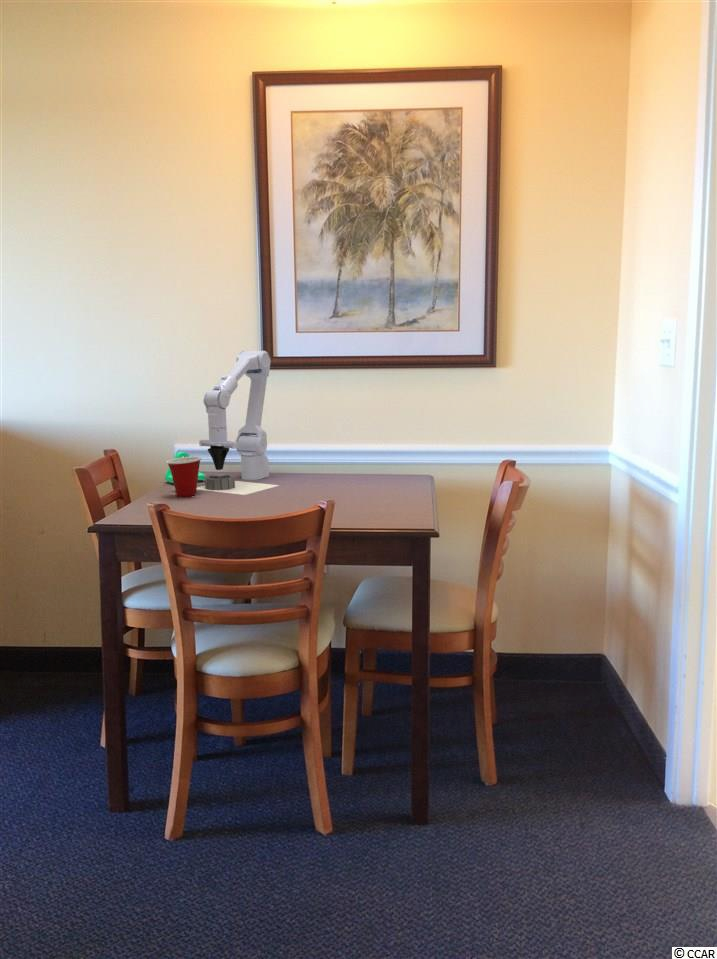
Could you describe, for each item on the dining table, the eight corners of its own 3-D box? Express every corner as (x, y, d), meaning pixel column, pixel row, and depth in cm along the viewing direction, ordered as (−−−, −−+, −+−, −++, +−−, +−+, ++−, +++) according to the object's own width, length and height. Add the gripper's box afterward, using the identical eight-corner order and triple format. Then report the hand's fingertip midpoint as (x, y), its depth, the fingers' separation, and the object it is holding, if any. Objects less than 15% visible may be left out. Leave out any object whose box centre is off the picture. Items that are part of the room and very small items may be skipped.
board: (227, 482, 297) (227, 469, 296) (279, 487, 285) (279, 474, 284) (191, 491, 282) (190, 478, 281) (244, 497, 270) (244, 483, 269)
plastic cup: (170, 493, 279) (168, 456, 276) (204, 492, 280) (202, 455, 277) (165, 500, 268) (163, 461, 266) (201, 498, 269) (199, 460, 267)
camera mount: (172, 486, 292) (171, 455, 290) (165, 483, 298) (163, 453, 297) (206, 482, 298) (205, 452, 296) (198, 479, 305) (197, 450, 303)
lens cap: (219, 485, 286) (219, 472, 286) (231, 487, 284) (230, 474, 283) (209, 487, 282) (208, 475, 282) (220, 489, 280) (219, 476, 279)
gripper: (192, 427, 280) (194, 469, 282) (226, 430, 272) (228, 473, 275) (206, 425, 286) (208, 466, 288) (241, 427, 278) (242, 469, 281)
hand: (219, 469), depth 282 cm, fingers closed
